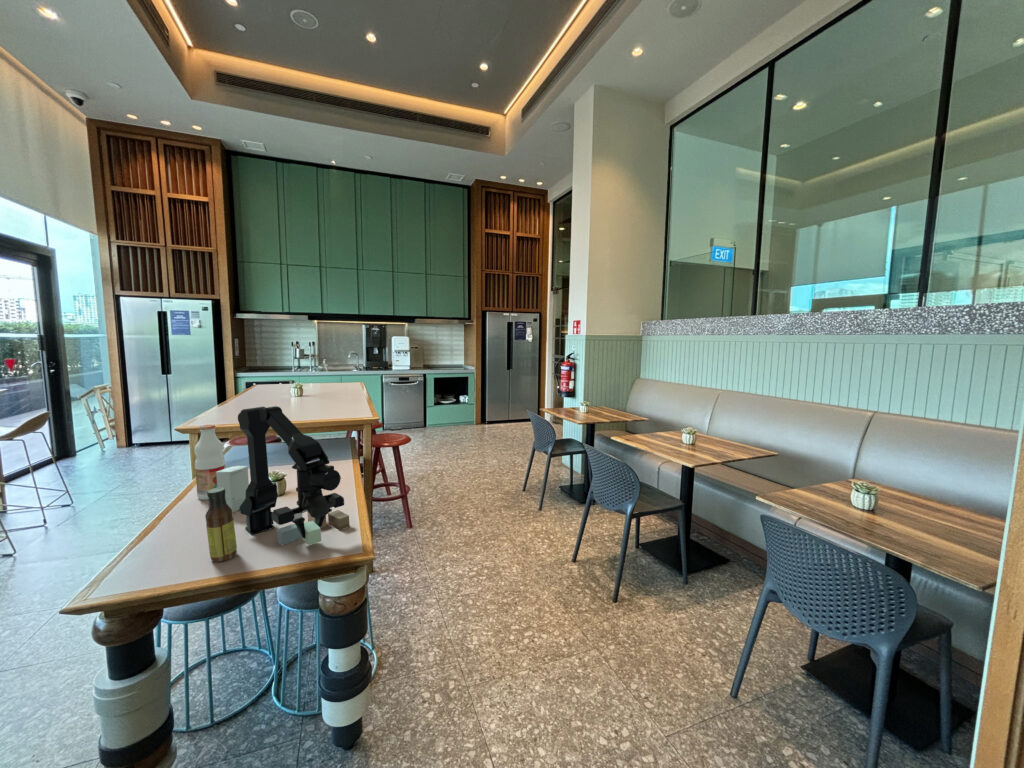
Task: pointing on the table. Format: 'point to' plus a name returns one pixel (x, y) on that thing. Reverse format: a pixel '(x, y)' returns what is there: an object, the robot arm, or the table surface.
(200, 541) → the table surface
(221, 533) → the sauce bottle
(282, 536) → the slate brick
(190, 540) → the table surface
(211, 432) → the fruit juice
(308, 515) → the tan brick
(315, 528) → the sage brick
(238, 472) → the skincare box
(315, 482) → the robot arm
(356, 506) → the table surface
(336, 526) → the walnut brick
